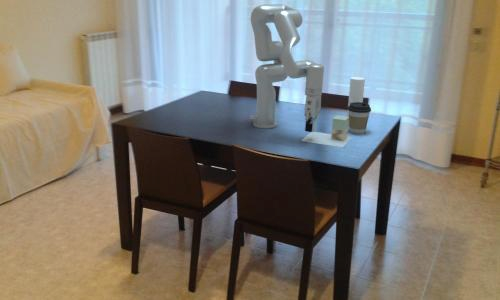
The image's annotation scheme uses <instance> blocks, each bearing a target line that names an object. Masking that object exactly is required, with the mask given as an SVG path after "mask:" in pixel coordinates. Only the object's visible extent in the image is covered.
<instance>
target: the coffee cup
mask: <svg viewBox="0 0 500 300" xmlns="http://www.w3.org/2000/svg"><path fill="white" fill-rule="evenodd" d="M348 110H349V127H348V130H349V131H348V132H350V133H353V134H364V133H366V129H367V126H368V121H369V118H370V113H371V112H372V108H371V106H370V104H368V103H366V102H363V103H362V102H354V103H351V104H350V106H348V105H347V111H348Z"/></svg>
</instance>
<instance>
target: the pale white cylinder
mask: <svg viewBox="0 0 500 300" xmlns="http://www.w3.org/2000/svg"><path fill="white" fill-rule="evenodd" d="M309 117H311V116H309ZM309 119H310V121H311V118H309ZM317 121H318V117H317V118H316V117H315V118H313V120H312V124H313V126H312V132H317Z"/></svg>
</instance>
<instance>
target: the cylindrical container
mask: <svg viewBox="0 0 500 300" xmlns="http://www.w3.org/2000/svg"><path fill="white" fill-rule="evenodd" d="M365 80H366V78H365V77H361V76H351V77H350V81H349V92H348V103H347V104H348V105H347V107H348V106H350V104H351V103H354V102H362V103H364V102H363V101H364V93H365V82H366V81H365ZM346 117H349V110H348V109H347V116H346ZM348 128H349V122H348Z"/></svg>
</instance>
